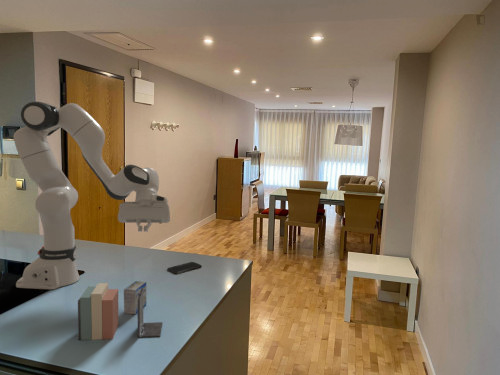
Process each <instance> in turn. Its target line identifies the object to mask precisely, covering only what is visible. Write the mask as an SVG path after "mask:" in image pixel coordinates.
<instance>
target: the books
mask: <svg viewBox="0 0 500 375" xmlns="http://www.w3.org/2000/svg"><path fill="white" fill-rule="evenodd" d="M79 299H80V317H81V340H80V341H93V340H94V341H96V340H113V339H114V337H115V334H116V332H117V329H118V327H119V288H110V289H109V283H108V282H106V283H105V282H104V283H103V282H101V283H99V282H98V283H97V284H96V286H95V285H94V286H87V287H86V289H85V290H84V291H83V293H82V295H81V296H80V297H79Z"/></svg>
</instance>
